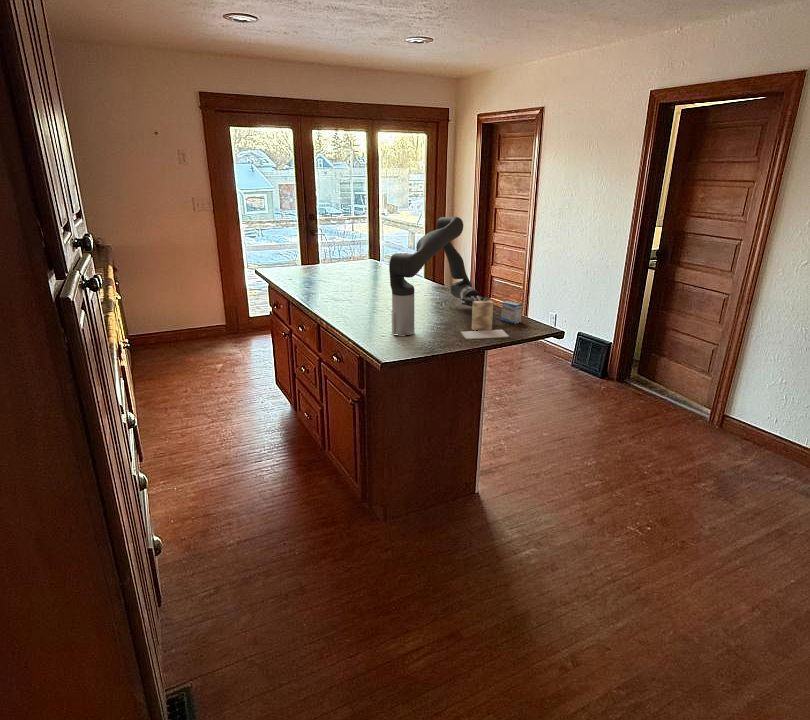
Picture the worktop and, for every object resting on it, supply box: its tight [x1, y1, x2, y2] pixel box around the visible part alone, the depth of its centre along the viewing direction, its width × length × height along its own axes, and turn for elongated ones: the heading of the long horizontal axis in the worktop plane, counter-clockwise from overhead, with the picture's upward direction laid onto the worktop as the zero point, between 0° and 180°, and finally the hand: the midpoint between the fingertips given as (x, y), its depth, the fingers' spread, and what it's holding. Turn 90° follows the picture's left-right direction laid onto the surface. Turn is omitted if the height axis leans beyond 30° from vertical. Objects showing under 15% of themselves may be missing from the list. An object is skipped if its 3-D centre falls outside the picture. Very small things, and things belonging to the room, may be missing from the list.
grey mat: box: [460, 329, 510, 340], centre depth 215 cm, size 18×9×1 cm, turn 98°
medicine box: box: [500, 300, 523, 325], centre depth 231 cm, size 8×4×9 cm, turn 45°
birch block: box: [471, 299, 494, 331], centre depth 221 cm, size 8×4×12 cm, turn 98°
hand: (480, 305), depth 222 cm, fingers closed
